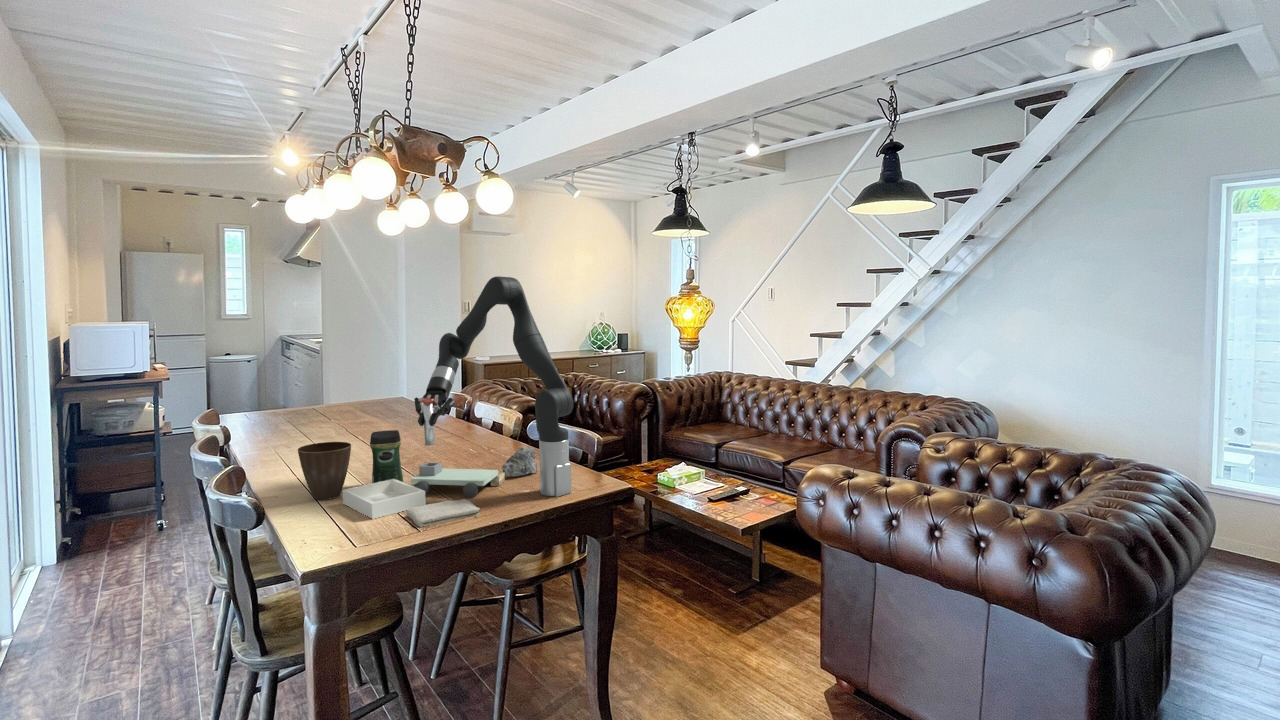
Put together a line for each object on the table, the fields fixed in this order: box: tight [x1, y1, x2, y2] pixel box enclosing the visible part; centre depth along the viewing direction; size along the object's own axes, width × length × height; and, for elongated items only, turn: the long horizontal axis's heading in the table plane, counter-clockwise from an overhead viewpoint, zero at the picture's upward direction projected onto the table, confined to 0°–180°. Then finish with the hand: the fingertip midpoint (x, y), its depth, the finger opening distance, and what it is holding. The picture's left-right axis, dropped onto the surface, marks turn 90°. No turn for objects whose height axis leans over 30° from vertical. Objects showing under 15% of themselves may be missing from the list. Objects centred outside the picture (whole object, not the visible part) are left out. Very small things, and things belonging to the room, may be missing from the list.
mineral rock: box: [501, 446, 538, 477], centre depth 216 cm, size 13×11×10 cm
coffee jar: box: [369, 429, 404, 484], centre depth 203 cm, size 10×8×19 cm
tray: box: [342, 479, 427, 520], centre depth 184 cm, size 20×16×4 cm
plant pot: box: [297, 441, 352, 500], centre depth 192 cm, size 15×15×16 cm
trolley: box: [410, 461, 499, 499], centre depth 199 cm, size 24×16×8 cm, turn 83°
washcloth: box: [406, 498, 481, 528], centre depth 174 cm, size 12×18×3 cm, turn 126°
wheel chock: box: [490, 471, 506, 487], centre depth 205 cm, size 3×5×3 cm, turn 173°
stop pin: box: [421, 398, 436, 447], centre depth 199 cm, size 4×4×15 cm
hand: (425, 424), depth 197 cm, fingers closed on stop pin, 3 cm apart
